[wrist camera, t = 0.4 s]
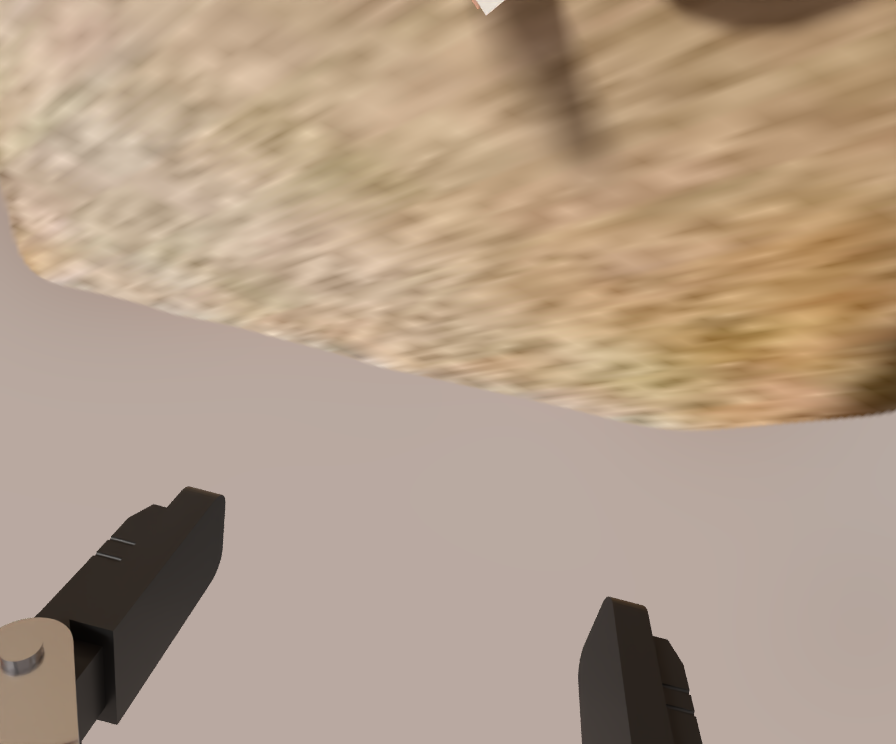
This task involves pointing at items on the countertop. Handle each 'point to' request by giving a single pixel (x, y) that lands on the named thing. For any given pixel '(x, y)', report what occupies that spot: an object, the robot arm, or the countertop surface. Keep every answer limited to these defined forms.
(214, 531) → the robot arm
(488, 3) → the tile
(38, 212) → the countertop surface
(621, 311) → the countertop surface
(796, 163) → the countertop surface
